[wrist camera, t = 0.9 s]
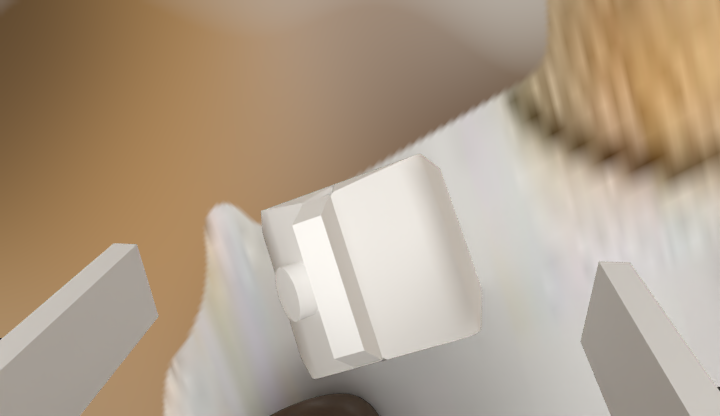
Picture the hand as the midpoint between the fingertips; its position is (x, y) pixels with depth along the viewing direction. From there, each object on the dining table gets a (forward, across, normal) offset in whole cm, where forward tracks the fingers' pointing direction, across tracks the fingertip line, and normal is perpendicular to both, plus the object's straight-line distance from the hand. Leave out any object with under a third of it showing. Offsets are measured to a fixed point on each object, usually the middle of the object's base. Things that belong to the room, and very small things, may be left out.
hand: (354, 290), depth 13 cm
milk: (+28, 0, +15) cm, 32 cm away
